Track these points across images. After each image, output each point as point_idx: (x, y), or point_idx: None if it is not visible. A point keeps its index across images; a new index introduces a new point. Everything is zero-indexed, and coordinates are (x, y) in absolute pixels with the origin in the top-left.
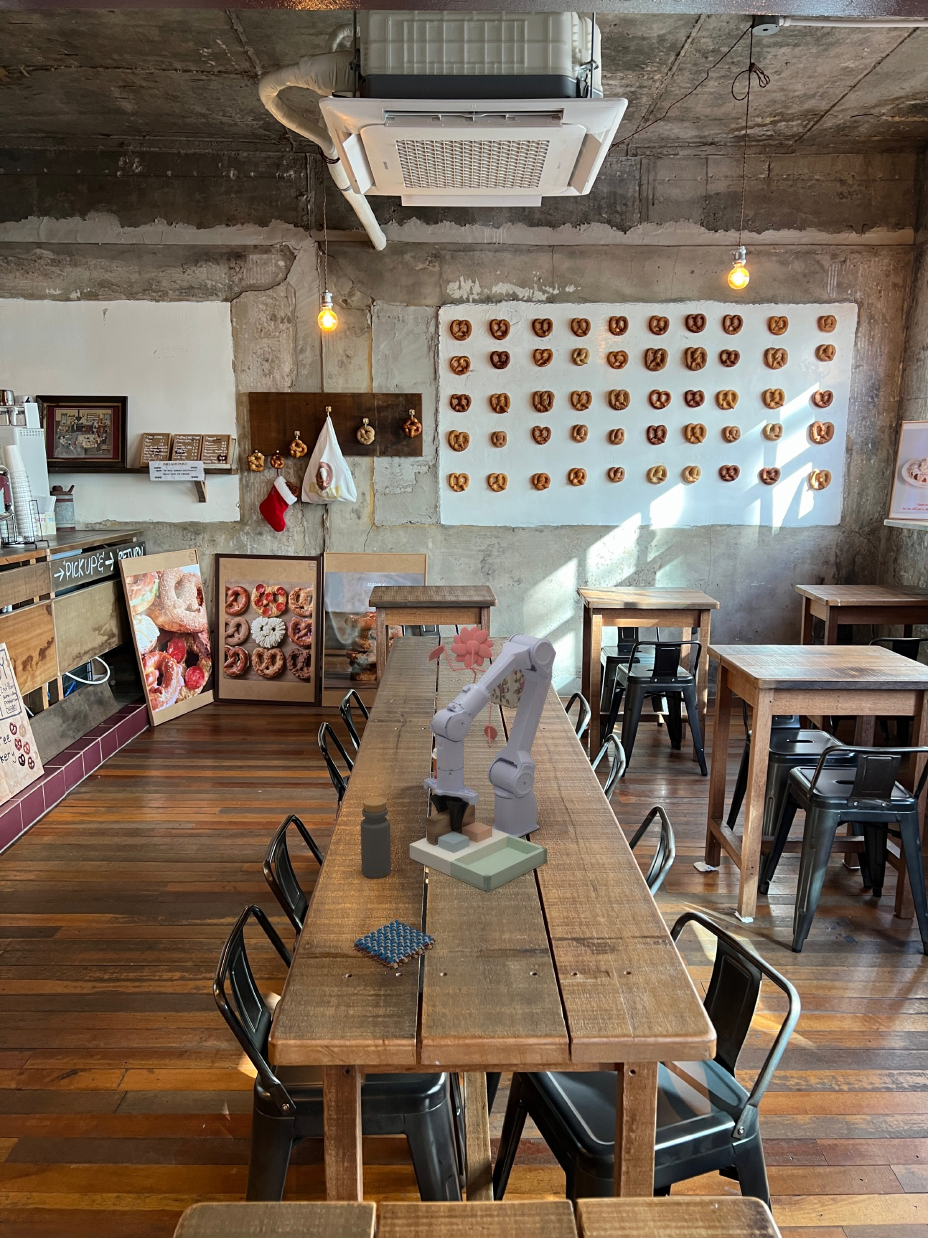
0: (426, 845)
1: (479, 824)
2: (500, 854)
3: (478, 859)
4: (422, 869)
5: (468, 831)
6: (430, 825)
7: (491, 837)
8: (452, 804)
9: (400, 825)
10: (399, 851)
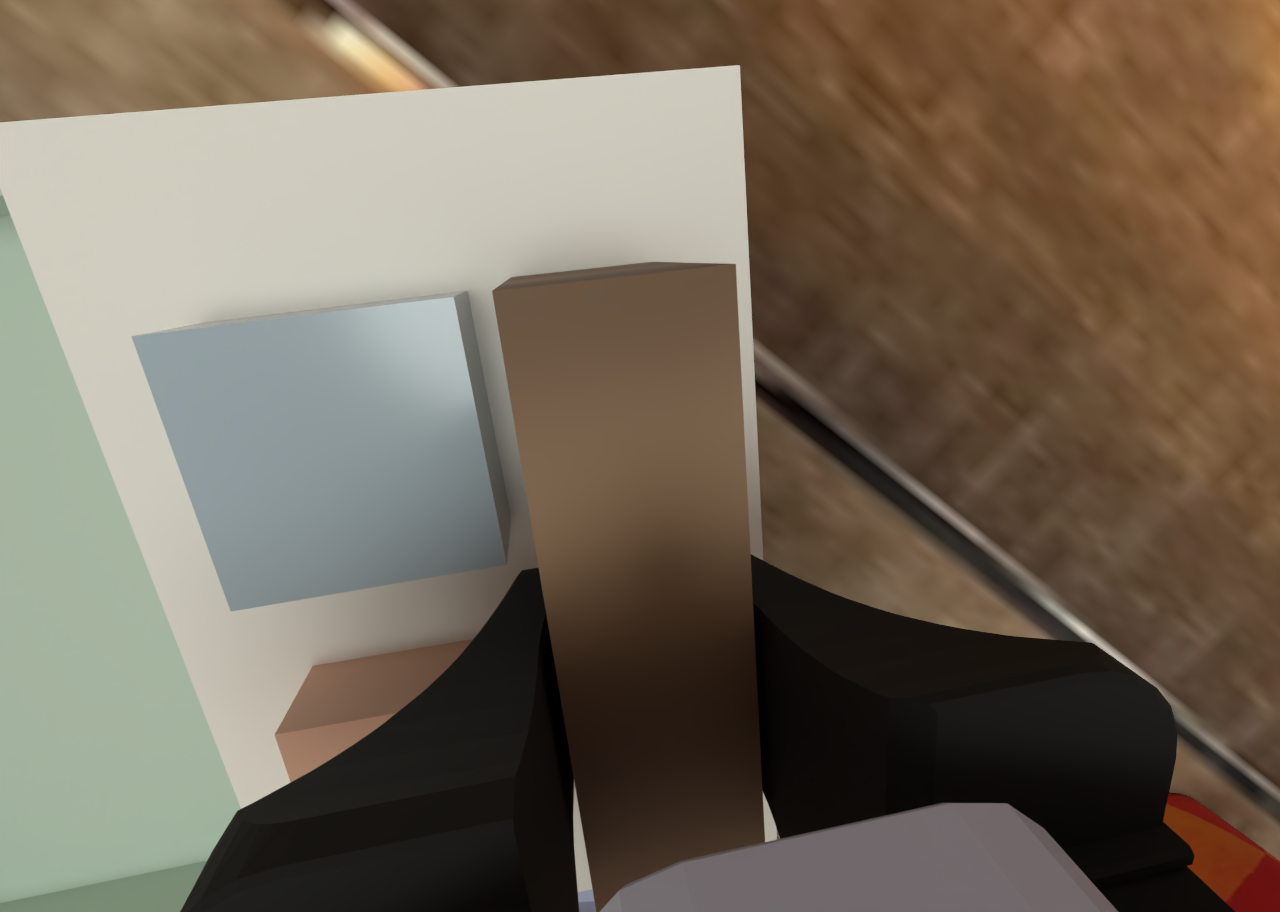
0: (585, 208)
1: None
2: None
3: None
4: (410, 30)
5: None
6: (602, 273)
7: None
8: (225, 869)
9: (1200, 452)
10: (873, 127)
